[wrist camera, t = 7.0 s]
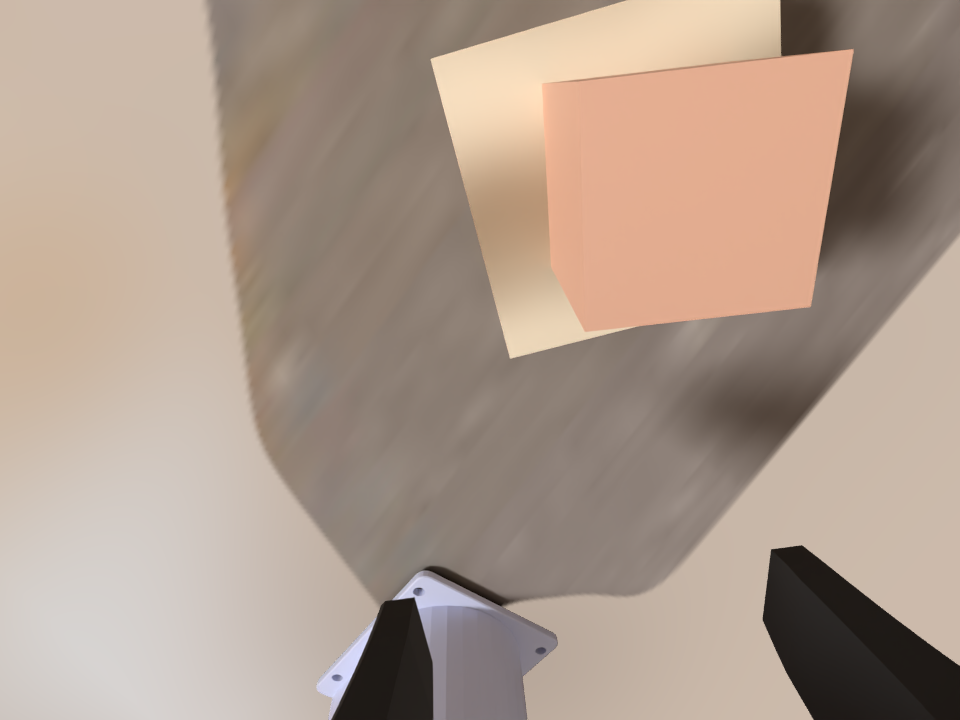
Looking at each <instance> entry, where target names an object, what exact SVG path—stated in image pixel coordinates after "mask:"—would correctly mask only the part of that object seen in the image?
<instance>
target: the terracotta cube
mask: <svg viewBox="0 0 960 720" xmlns="http://www.w3.org/2000/svg"><path fill="white" fill-rule="evenodd" d="M853 51H854V49H850V50H840V51H830V52H820V53H810V54H800V55H790V56H780V57H770V58H760V59H750V60H741V61H731V62H722V63H714V64H705V65H697V66H688V67H680V68H671V69H663V70H654V71H646V72H637V73H629V74H620V75H612V76H603V77H595V78H586V79H578V80H569V81H561V82H552V83H544V84H542V97H543V117H544V137H545V157H546V177H547V197H548V216H549V236H550V256H551V268H552V270H553V272H554V274H555V276H556V278H557V279H558V281H559V283H560V285H561V287H562V289H563V291H564V293H565V295H566V297H567V299H568V300H569V302H570V304H571V306H572V308H573V310H574V312H575V314H576V316H577V318H578V320H579V322H580V323H581V325H582V327H583V329H584V331H585V332H589V331H598V330H607V329H616V328H625V327H634V326H643V325H652V324H661V323H670V322H679V321H688V320H697V319H706V318H715V317H724V316H733V315H742V314H751V313H760V312H769V311H778V310H787V309H796V308H805V307H811V302H812V296H813V290H814V284H815V278H816V272H817V266H818V260H819V254H820V248H821V242H822V236H823V230H824V224H825V218H826V213H827V207H828V201H829V195H830V189H831V183H832V177H833V171H834V165H835V159H836V153H837V147H838V141H839V135H840V129H841V123H842V117H843V111H844V105H845V99H846V93H847V87H848V81H849V75H850V69H851V63H852V57H853Z"/></svg>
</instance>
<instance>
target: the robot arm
mask: <svg viewBox="0 0 960 720" xmlns="http://www.w3.org/2000/svg"><path fill="white" fill-rule="evenodd" d="M417 588H422V589H417ZM763 622H764V624H765V626H766V629H767V631H768V633H769V635H770V638H771V640H772V642H773V644H774V647H775V649H776V651H777V653H778V655H779V657H780V660H781V662H782V664H783V666H784V668H785V670H786V673H787V674H788V676H789V678H790V679H791V681H792V683H793V685H794V686H795V688H796V690H797V691H798V693H799V695H800V697H801V699H802V700H803V702H804V704H805V706H806V707H807V709H808V711H809V712H810V714H811V716H812V718H813V719H814V720H960V666H959V665H958V664H956V663H955V662H953V661H952V660H951V659H949V658H948V657H946V656H945V655H943V654H942V653H941V652H939V651H938V650H937V649H935V648H934V647H933V646H931V645H930V644H928V643H927V642H926V641H924V640H923V639H922V638H920V637H919V636H917V635H916V634H915V633H914V632H912V631H911V630H910V629H908V628H907V627H906V626H904V625H903V624H902V623H900V622H899V621H898V620H896V619H895V618H894V617H892V616H891V615H890V614H889V613H887V612H886V611H885V610H883V609H882V608H881V607H880V606H878V605H877V604H876V603H874V602H873V601H872V600H871V599H869V598H868V597H867V596H865V595H864V594H863V593H862V592H860V591H859V590H858V589H857V588H855V587H854V586H853V585H851V584H850V583H849V582H848V581H846V580H845V579H844V578H843V577H841V576H840V575H839V574H838V573H836V572H835V571H834V570H833V569H831V568H830V567H829V566H828V565H826V564H825V563H824V562H822V561H821V560H820V559H819V558H818V557H816V556H815V555H814V554H812V553H811V552H810V551H808V550H807V549H806V548H805V547H804V546H802V545H801V546H794V547H787V548H779V549H772V550H771V556H770V563H769V572H768V580H767V588H766V596H765V604H764V613H763ZM557 644H558V642H557V637H556V635H555V634H554V633H553V632H551V631H549V630H547V629H545V628H543V627H541V626H539V625H536V624H535V623H533V622H531V621H529V620H527V619H525V618H523V617H521V616H518V615H517V614H515V613H513V612H511V611H509V610H507V609H505V608H503V607H501V606H499V605H497V604H495V603H493V602H491V601H489V600H487V599H485V598H483V597H481V596H479V595H477V594H475V593H473V592H471V591H469V590H467V589H465V588H463V587H461V586H459V585H457V584H455V583H453V582H451V581H449V580H447V579H445V578H443V577H441V576H439V575H437V574H435V573H433V572H431V571H421V572H419V573H417V574H416V575H415V576H414V577H413V578H412V579H411V580H410V581H409V582H408V584H407V585H406V586H405V587H404V588H403V589H402V590H401V591H400V592H399V593H398V594H397V595H396V596H395V598H394V599H393V600H391V601H385V602H384V603H383V604H382V605H381V607H380V610H379V613H378V615H377V617H376V618H375V619H374V620H373V621H372V622H371V623H370V624H369V626H368V627H367V628H366V629H365V630H364V631H363V632H362V633H361V634H360V635H359V636H358V637H357V638H356V640H355V641H354V642H353V643H352V644H351V645H350V646H349V647H348V648H347V649H346V650H345V651H344V653H342V655H341V656H340V657H339V658H338V659H337V660H336V661H335V662H334V663H333V664H332V665H331V666H330V667H329V669H328V670H327V671H326V672H325V673H324V674H323V675H322V676H321V677H320V678H319V680H318V683H317V690H318V691H319V692H320V693H321V694H323V695H326V696H329V697H331V698H332V703H331V709H330V713H329V718H328V720H527V713H526V704H525V695H524V687H523V678H522V677H523V676H524V675H525V674H526V673H527V672H528V671H529V670H531V669H532V668H533V667H534V666H535V665H536V664H538V663H539V662H540V661H541V660H542V659H543V658H544V657H546V656H547V655H548V654H549V653H550V652H551V651H552V650H554V649H555V648H556V646H557Z"/></svg>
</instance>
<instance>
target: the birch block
mask: <svg viewBox="0 0 960 720" xmlns="http://www.w3.org/2000/svg"><path fill="white" fill-rule="evenodd" d="M780 56H781V20H780V0H626V1H623V2H620V3H616V4H613V5H610V6H606V7H603V8H600V9H596V10H593V11H590V12H586V13H583V14H580V15H576V16H573V17H570V18H566V19H563V20H559V21H556V22H553V23H549V24H546V25H543V26H539V27H536V28H533V29H529V30H526V31H523V32H519V33H516V34H513V35H509V36H506V37H503V38H499V39H496V40H492V41H489V42H486V43H482V44H479V45H476V46H472V47H469V48H466V49H462V50H459V51H456V52H452V53H449V54H446V55H442V56H439V57H436V58H432V59H431V62H432V66H433V70H434V73H435V77H436V81H437V85H438V89H439V92H440V96H441V100H442V104H443V107H444V111H445V115H446V119H447V122H448V126H449V130H450V134H451V137H452V141H453V145H454V149H455V153H456V156H457V160H458V164H459V168H460V171H461V175H462V179H463V183H464V186H465V190H466V194H467V198H468V201H469V205H470V209H471V213H472V217H473V220H474V224H475V228H476V232H477V235H478V239H479V243H480V247H481V250H482V254H483V258H484V262H485V265H486V269H487V273H488V277H489V281H490V284H491V288H492V292H493V296H494V299H495V303H496V307H497V311H498V314H499V318H500V322H501V326H502V329H503V333H504V337H505V341H506V345H507V348H508V352H509V356H510V358H514V357H518V356H522V355H526V354H530V353H534V352H538V351H542V350H546V349H550V348H554V347H558V346H562V345H566V344H570V343H574V342H578V341H582V340H585V339H589V338H593V337H597V336H601V335H605V334H609V333H613V332H617V331H621V330H625V329H629V328H633V327H625V328H616V329H607V330H598V331H589V332H585V331H584V329H583V327H582V325H581V323H580V322H579V320H578V318H577V316H576V314H575V312H574V310H573V308H572V306H571V304H570V302H569V300H568V299H567V297H566V295H565V293H564V291H563V289H562V287H561V285H560V283H559V281H558V279H557V278H556V276H555V274H554V272H553V270H552V268H551V256H550V236H549V216H548V197H547V177H546V157H545V137H544V117H543V97H542V84H544V83H552V82H561V81H569V80H578V79H586V78H595V77H603V76H612V75H620V74H629V73H637V72H646V71H654V70H663V69H671V68H680V67H688V66H697V65H705V64H714V63H722V62H731V61H741V60H750V59H760V58H770V57H780ZM634 327H637V326H634Z"/></svg>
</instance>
